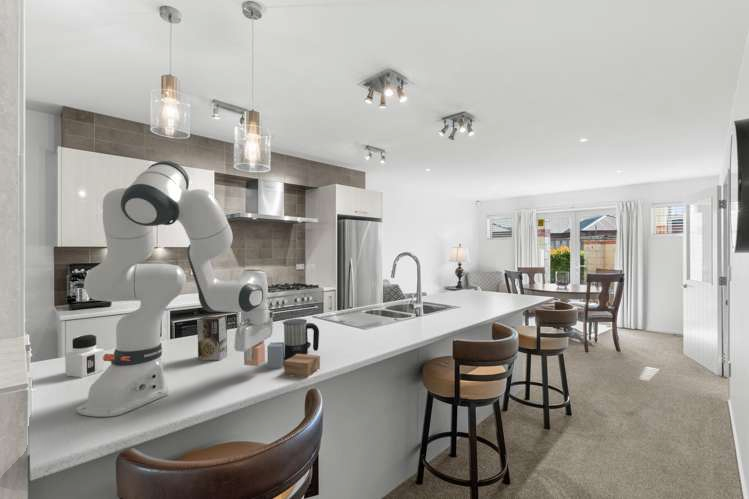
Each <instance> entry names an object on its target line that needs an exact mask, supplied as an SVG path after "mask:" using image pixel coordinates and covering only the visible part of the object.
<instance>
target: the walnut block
mask: <svg viewBox="0 0 749 499" xmlns="http://www.w3.org/2000/svg"><path fill="white" fill-rule="evenodd" d="M320 357H321V355H318V354H317V355H314V354H296V355H294V356H292V357H291V358H289V359H287V360H284V365H283V367H284V368H283V371H284V376H290V375H293V376H292V377H298V376H303V377H302V378H306V377H308V378H310V377H311V376H312V375H314V374H315V373H316V372H318V371H319V370H320V369H321V358H320ZM318 369H319V370H318ZM317 370H318V371H317ZM314 372H315V373H314ZM313 373H314V374H313ZM310 375H311V376H310ZM309 376H310V377H309Z"/></svg>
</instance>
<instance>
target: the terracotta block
mask: <svg viewBox="0 0 749 499" xmlns="http://www.w3.org/2000/svg"><path fill="white" fill-rule="evenodd" d="M251 351H252V354H253V359H252V360H251V361H249V360H247V359H246V354H245V352H243V362H244V363H243V366H250V367H251V366H255V367H260V366H261V364H263V363H265V362H266V344H265V343H264V344H257V345H255V346H254V347H252V350H251Z"/></svg>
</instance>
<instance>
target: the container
mask: <svg viewBox="0 0 749 499" xmlns="http://www.w3.org/2000/svg"><path fill="white" fill-rule="evenodd" d="M104 355H105V354H104V349H103V348H97V336H96V335H94V334H82V335H78V336H76V337H74V338H73V339H72V351H69V352H66V353H65V354H64V356H65V357H64V358H65V361H64V363H65V365H64V366H65V370H64V371H65V376H67V377H75V378H85V377H88V376H91V375H93V374H97V373H100V372H103V371H105V368H104V366H105V365H104V364H105V361H104V360H103V358H104V357H103V356H104Z"/></svg>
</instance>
